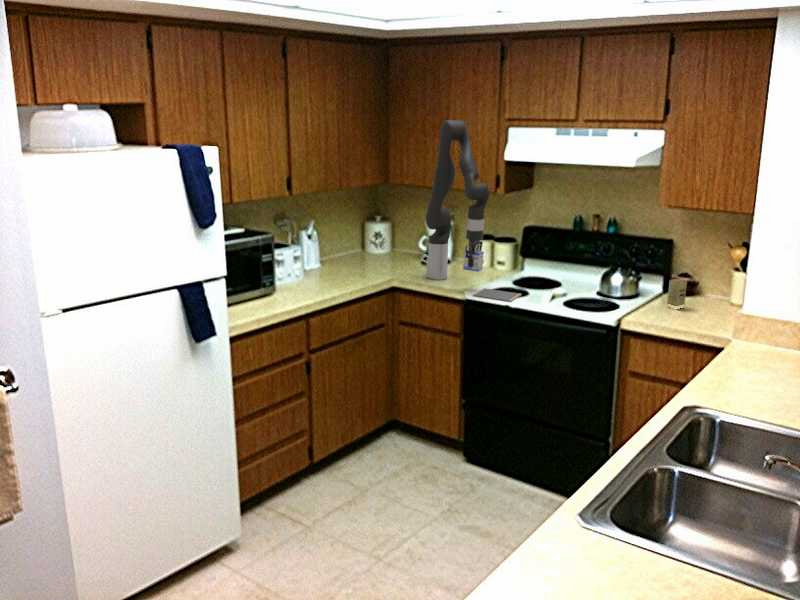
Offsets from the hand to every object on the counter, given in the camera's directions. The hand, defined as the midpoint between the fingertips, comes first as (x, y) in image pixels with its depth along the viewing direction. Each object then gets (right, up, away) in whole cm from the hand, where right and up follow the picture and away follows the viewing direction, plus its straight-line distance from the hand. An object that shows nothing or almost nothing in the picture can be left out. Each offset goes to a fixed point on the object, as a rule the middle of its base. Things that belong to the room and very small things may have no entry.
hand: (472, 265), depth 341 cm
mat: (+10, -14, -6) cm, 18 cm away
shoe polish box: (+84, -19, -21) cm, 88 cm away
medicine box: (0, -2, +1) cm, 2 cm away
